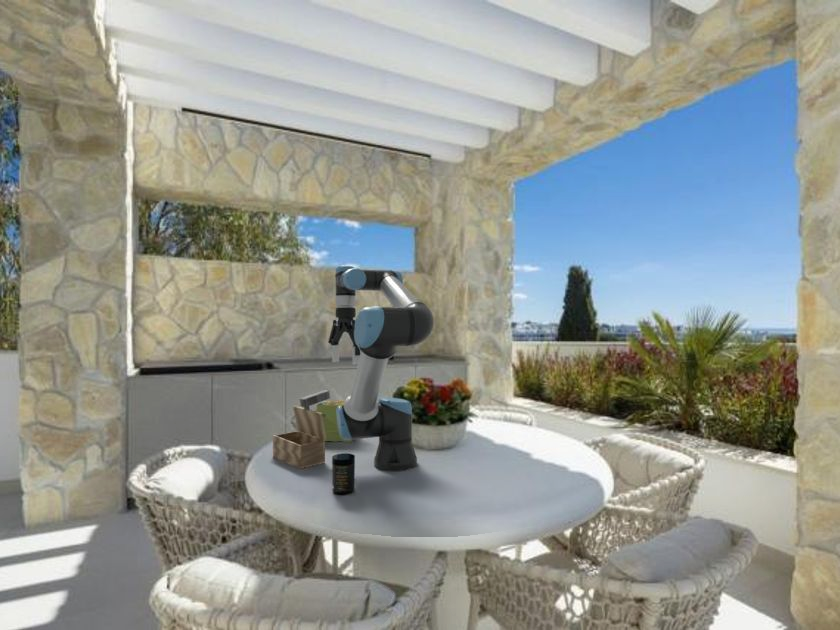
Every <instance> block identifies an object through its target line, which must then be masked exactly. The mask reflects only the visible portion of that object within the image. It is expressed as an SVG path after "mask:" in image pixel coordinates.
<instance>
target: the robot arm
mask: <svg viewBox="0 0 840 630" xmlns="http://www.w3.org/2000/svg"><path fill="white" fill-rule="evenodd" d="M334 278H335V304H334V305H335V307H336V308H335V317H336V318H337V319H333V321H332V326H331V330H330V334H329V339H328V343H329V344H330V345H331V354H332V355H331V356H332V358H331V362H332V363H339V362H340V341H341V339H342V336H343V334H344V333H347V334H348V336H349V338H350V340H351V343H352V344H353V345H352V365H353V366H354V365H357V368H356V372H355V375H354V376H355V377H354V379H353V380H354V381H353V385H352V389H351V393H350V395H349V396H347V398H346V399H345V400H344V401H345V402H344V405H340V406H338V407H337V410H336V415H337V425H338V430H339V434H340V437H341V438H342V439H343V440H353V441H354V440H360V439H361V440H362V439H369V438H370V439H371V438H378V445H377V449H376V453H375V456H374V458H373V465H374V467H375V468H377V469H378V470H381V471H387V472H398V471H400V472H401V470H402V471H407V469H408V470H411V469H414V468H415V467H417V466H418V457H417V455H416V451H415V448H414V444H413V408H412V407H413V406H412V403H411V401H409V400H407V399H403V398H397V397H380V398H379V399H378V397H379V394H380V393H379V392H380V390H381V386H382V382H383V379H384V375H385V371H386V369H387V365H388V361H389V359H391V358H392V357H393V356H395V354H396V352H397V349H398V347H412V346H417V345H420V344H422V343H423V342H424V341H426V340H427V339H428V337H430V335H431V333H432V331H433V328H434V324H435V323H434V321H435V319H434V315H433V312H432V311H431V309H430V308H429V307H428V306H427V304H425V303H424V302H422V301H418V299H416V297H415V296H414V295H413V294H412V293H411V292H410V290H408V288H407V287H406V286H405V285H404V284H403V283H404V281H403V280H404V277H403V275H402V272H400V271H398V270H385V269H384V270H383V269H381V270H378V269H360V268H358V267H355V266H352V265H341V266H340V265H339V266H337V267H335V274H334ZM356 291H375V292H376V291H377V292H378V291H379V292H381V293H382V294H383V296H384V298H386V299H387V301H388V302H389V304H390V305H391V306H379V305H375V306H366V307H363V308H362V309H360V311H359V312H358V313H357V315H356V312H357V311H356ZM377 399H378V400H377ZM377 401H378V402H377Z"/></svg>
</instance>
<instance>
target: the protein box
mask: <svg viewBox="0 0 840 630" xmlns="http://www.w3.org/2000/svg"><path fill="white" fill-rule="evenodd" d="M344 402H345V400H324V401H321V402H319V403H317V404H316V412H320V413H322V416H323V422H324V428H325V433H326V439H327V440H325V441H344V442H343V443H352V442H353V441H354V440H343V439H342V438H341V437H340V434H339V430H338V425H337V415H336V410H337V407H338V406H340V405H344ZM316 438H317V437H316ZM319 439H320V438H319ZM322 440H323V439H322Z"/></svg>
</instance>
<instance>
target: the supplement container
mask: <svg viewBox="0 0 840 630" xmlns="http://www.w3.org/2000/svg"><path fill="white" fill-rule="evenodd" d="M355 462H356V456H355V454H353V453H348V452H345V453H337V454H334V455H333V456H331V465H332V466H331V470H332V471H331V473H332V475H331V476H332V477H331V481H332V483H331V484H332V485H331V488H332V489H331V490H332V493H333V494H334V495H339V496H345V495H350V494H352V493H353V492H354V491H355V489H356V488H355V487H356V476H355V475H356V474H355V470H356V469H355V468H356V467H355V465H356V463H355Z"/></svg>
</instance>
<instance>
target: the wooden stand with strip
mask: <svg viewBox="0 0 840 630" xmlns="http://www.w3.org/2000/svg"><path fill="white" fill-rule="evenodd" d="M329 399H331V394H330V390H326V389H323V390H320V391H318V392H315V393H311V394H309V395H306V396H303V397H300V398H299V402H300V406H297V405H292V407H293V412H294V419H295V424H296V431H299V432H302V433H305V434H308V435H310V436H313V437H317V438H320V439H323V440H327V439H326V433H325V428H324V422H323V416H322V413H320V412H317V410H316V411H315V410H311V409H310V407H311V406H313V405H317V404H319V403H321V402H322V401H328V400H329Z"/></svg>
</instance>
